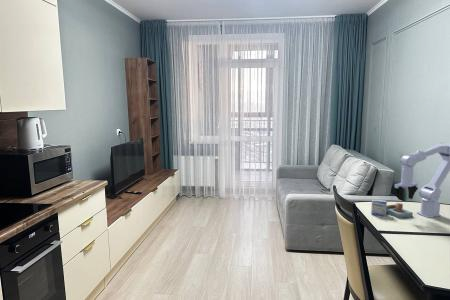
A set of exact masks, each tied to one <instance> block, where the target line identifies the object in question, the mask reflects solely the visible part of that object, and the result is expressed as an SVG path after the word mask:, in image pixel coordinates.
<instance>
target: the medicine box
mask: <svg viewBox="0 0 450 300" xmlns="http://www.w3.org/2000/svg"><path fill="white" fill-rule="evenodd" d="M387 205H388V203H387V200H383V199H374V198H372V199H371V209H370V210H371V211H370V213H371V215H372V216H379V215H380V216H381V217H382V216H383V217H386V216H387V213H386V207H387ZM380 216H379V217H380Z"/></svg>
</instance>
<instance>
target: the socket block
mask: <svg viewBox="0 0 450 300" xmlns="http://www.w3.org/2000/svg"><path fill="white" fill-rule="evenodd" d="M387 213H388V214H387ZM413 213H414V212H412V211H410V210H407V209H404V208H403V209H402V212H396V208H388V209H386V214H387V215H389V214H390V216H392V217H394V218H397V219H403V218H412V217H413Z"/></svg>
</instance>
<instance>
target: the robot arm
mask: <svg viewBox="0 0 450 300" xmlns="http://www.w3.org/2000/svg"><path fill="white" fill-rule="evenodd" d="M436 154H439V155H440V157H441V158H442V161H441V163H440V165H439V166H438V168H437V169H436V171H435V173H434V175H433V176H432V178H431V180H430V181H429V183H426V184H424V185H423V187H421V188H420V189H419V187H418V186H419V183H418V182H413V178H414V177H413V176H414V167H415V166H416V165H417V164H418V163H420V162H423V161H425V160H426V159H427V157H430V156H433V155H436ZM399 162H400V164H401V178H400V182H398V183H395V184H394V190H395V192H396V196H397V200H399V201H402V199H403V194H404V191H405V188H407V190H408V192H407V193H408V199H410V200H413V198H414V196H415V194H416V192H417V191H418V189H419V191H418V195H419V197H420V199H421V202H420V211H417V212H416V213H417V214H418V215H421V216H424V217H426V218H433V217H434V218H435V217H441V214H440V211H441V210H440V209H441V203H440V201H439V199H440V198H441V193H442V190H441V189H440V188H441V187H442V186H441V185H442V184H443V183H444V181H445V179H446V177H447V176H448V174H449V172H450V143H448V142H447V143H446V142H442V141H441V142H439V143H436V144H435V145H434V146H431V147H430V148H428V149H425V150H420V149H418V150H416V151H415V152H413V153H409V155H407V154H406V155H403V156H402V157H401V158H400V159H399Z"/></svg>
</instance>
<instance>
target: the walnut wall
mask: <svg viewBox="0 0 450 300" xmlns="http://www.w3.org/2000/svg"><path fill="white" fill-rule="evenodd" d="M388 208H396V204H387V207H386V209H388Z"/></svg>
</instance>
